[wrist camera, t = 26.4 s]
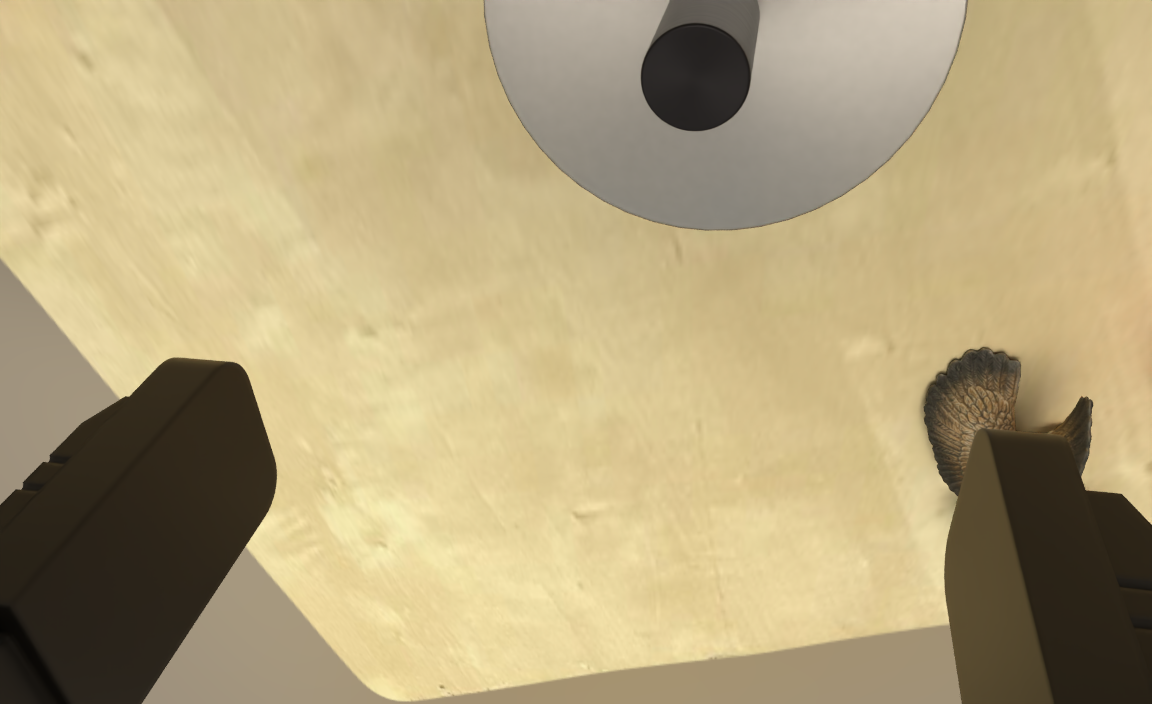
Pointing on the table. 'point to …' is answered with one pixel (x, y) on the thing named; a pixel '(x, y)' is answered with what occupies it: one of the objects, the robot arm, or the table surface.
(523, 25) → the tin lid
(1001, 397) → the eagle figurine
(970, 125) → the table surface
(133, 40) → the table surface
